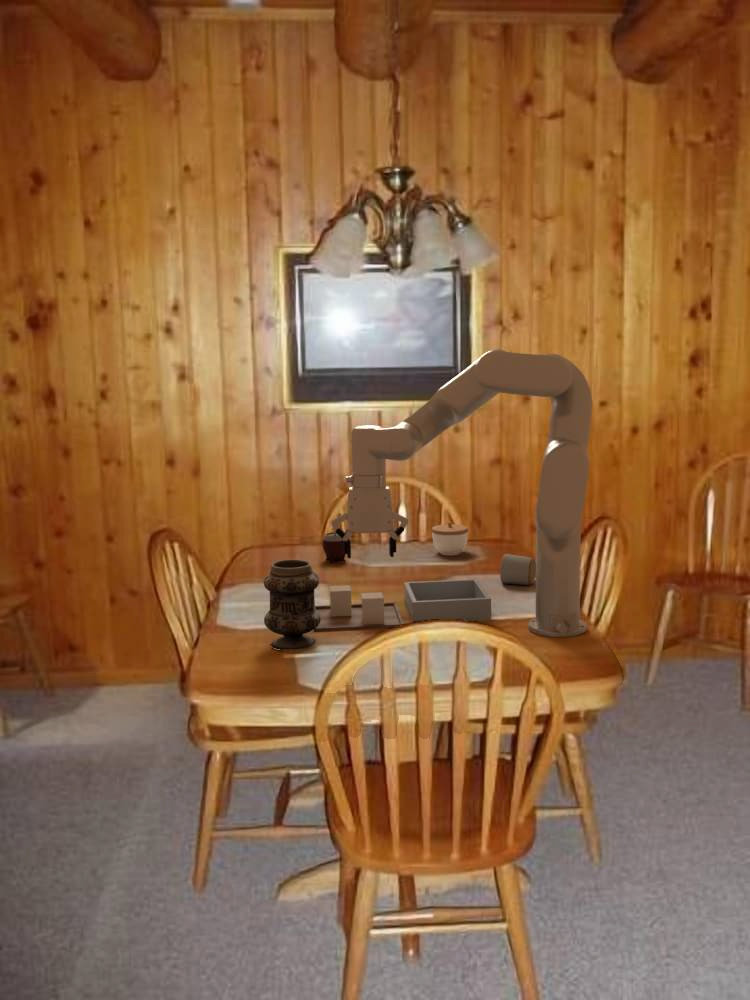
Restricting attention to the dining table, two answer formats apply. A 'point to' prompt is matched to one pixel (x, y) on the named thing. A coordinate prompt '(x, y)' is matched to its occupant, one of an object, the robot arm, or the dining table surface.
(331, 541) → the mate gourd
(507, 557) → the ceramic mug
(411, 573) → the dining table surface
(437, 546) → the lidded jar
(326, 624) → the walnut tray
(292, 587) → the apothecary jar
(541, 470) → the robot arm
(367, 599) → the beige block
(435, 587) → the tub
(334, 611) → the stone
